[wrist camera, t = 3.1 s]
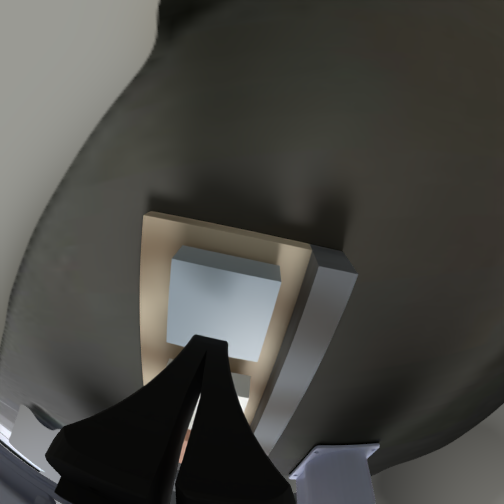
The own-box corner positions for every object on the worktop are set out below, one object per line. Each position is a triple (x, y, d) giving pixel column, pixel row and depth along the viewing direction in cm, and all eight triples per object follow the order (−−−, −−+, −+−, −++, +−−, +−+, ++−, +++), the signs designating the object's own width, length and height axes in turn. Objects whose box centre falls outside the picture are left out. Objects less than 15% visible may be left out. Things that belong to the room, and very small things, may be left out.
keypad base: (260, 444, 23) (259, 468, 20) (151, 421, 22) (143, 444, 19) (342, 251, 15) (358, 274, 12) (150, 210, 15) (126, 225, 12)
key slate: (258, 341, 16) (257, 362, 14) (175, 323, 16) (166, 342, 14) (279, 265, 14) (281, 281, 12) (182, 245, 14) (171, 258, 12)
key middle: (236, 418, 17) (234, 438, 16) (168, 403, 17) (162, 422, 15) (250, 376, 16) (248, 398, 14) (169, 358, 15) (161, 378, 14)
